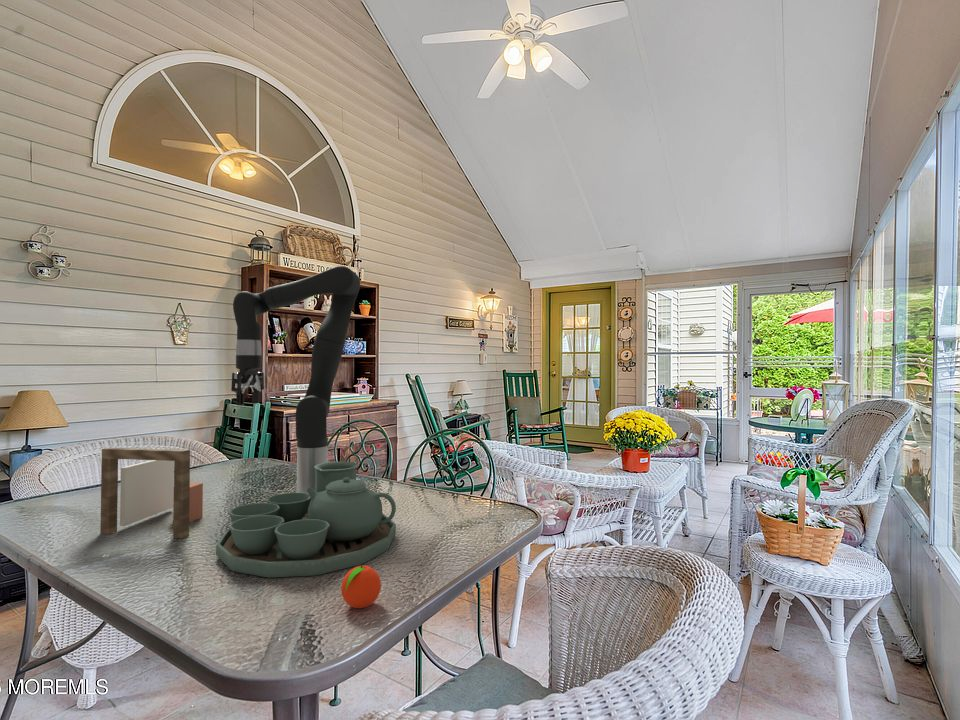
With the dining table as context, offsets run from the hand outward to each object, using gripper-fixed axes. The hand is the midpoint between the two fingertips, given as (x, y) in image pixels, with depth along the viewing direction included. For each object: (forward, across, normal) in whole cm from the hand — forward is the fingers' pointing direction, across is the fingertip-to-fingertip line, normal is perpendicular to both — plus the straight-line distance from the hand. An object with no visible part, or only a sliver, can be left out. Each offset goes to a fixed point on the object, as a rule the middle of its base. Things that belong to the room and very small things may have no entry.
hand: (248, 404), depth 161 cm
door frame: (+30, -36, +5) cm, 47 cm away
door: (+29, -25, +14) cm, 41 cm away
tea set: (+31, -37, -39) cm, 62 cm away
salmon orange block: (+30, -23, +3) cm, 38 cm away
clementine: (+30, -65, -62) cm, 95 cm away
